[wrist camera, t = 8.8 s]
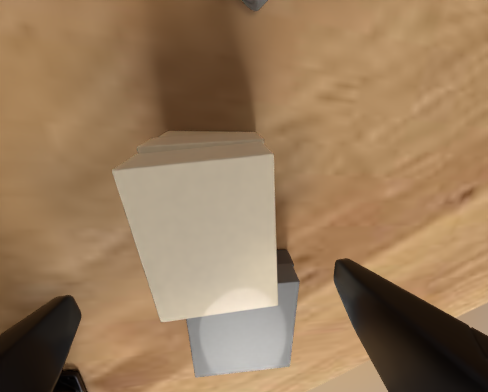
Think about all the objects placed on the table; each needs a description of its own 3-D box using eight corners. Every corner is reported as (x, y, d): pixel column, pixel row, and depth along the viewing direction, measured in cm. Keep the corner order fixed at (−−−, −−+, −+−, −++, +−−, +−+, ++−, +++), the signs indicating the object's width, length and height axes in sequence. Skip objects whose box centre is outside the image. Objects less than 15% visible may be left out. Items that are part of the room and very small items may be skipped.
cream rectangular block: (268, 271, 14) (278, 306, 12) (170, 284, 14) (160, 323, 11) (262, 141, 11) (274, 152, 9) (134, 153, 11) (110, 169, 8)
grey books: (278, 327, 24) (289, 369, 20) (195, 334, 23) (191, 378, 19) (288, 247, 20) (304, 281, 16) (188, 251, 19) (181, 288, 16)
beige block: (253, 231, 19) (265, 275, 14) (173, 233, 18) (157, 281, 14) (258, 126, 16) (275, 139, 11) (161, 125, 15) (134, 137, 10)
